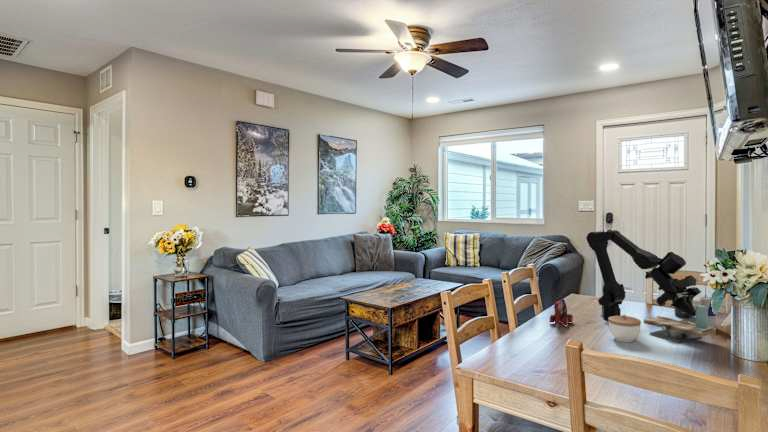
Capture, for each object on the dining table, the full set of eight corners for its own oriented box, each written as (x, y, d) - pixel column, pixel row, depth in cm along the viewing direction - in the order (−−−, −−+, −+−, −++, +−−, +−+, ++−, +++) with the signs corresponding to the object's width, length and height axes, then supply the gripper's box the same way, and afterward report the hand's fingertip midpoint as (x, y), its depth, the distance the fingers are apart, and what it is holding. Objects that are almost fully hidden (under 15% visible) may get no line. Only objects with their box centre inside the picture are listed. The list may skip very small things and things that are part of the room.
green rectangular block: (691, 330, 155) (690, 306, 155) (701, 327, 158) (701, 304, 158) (701, 332, 152) (701, 308, 152) (712, 330, 155) (712, 306, 154)
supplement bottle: (697, 318, 186) (697, 291, 185) (681, 318, 186) (681, 291, 185) (686, 314, 192) (686, 287, 192) (671, 314, 193) (670, 288, 192)
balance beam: (643, 323, 170) (643, 318, 170) (658, 320, 174) (658, 315, 174) (700, 336, 151) (700, 331, 151) (715, 332, 155) (715, 328, 155)
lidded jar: (643, 345, 155) (643, 319, 154) (610, 342, 158) (610, 317, 158) (637, 336, 165) (637, 312, 164) (606, 334, 168) (606, 310, 168)
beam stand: (649, 334, 166) (649, 321, 166) (672, 329, 172) (672, 316, 171) (678, 343, 156) (678, 328, 156) (702, 337, 162) (702, 323, 161)
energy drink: (719, 330, 169) (719, 300, 169) (703, 329, 170) (703, 299, 170) (711, 326, 174) (711, 297, 174) (696, 325, 175) (696, 296, 175)
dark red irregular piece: (574, 321, 186) (574, 298, 186) (564, 328, 177) (564, 304, 176) (558, 319, 191) (557, 296, 190) (548, 326, 181) (547, 301, 181)
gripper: (664, 271, 157) (696, 307, 148) (695, 266, 165) (728, 300, 155) (643, 288, 165) (673, 323, 155) (674, 283, 172) (704, 316, 163)
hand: (695, 315), depth 157 cm, fingers closed
